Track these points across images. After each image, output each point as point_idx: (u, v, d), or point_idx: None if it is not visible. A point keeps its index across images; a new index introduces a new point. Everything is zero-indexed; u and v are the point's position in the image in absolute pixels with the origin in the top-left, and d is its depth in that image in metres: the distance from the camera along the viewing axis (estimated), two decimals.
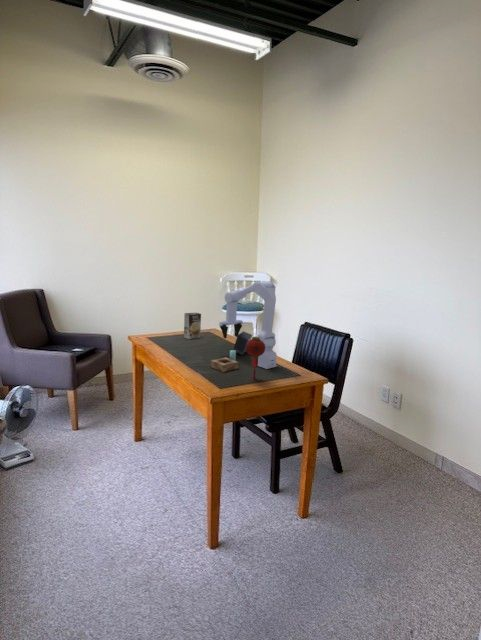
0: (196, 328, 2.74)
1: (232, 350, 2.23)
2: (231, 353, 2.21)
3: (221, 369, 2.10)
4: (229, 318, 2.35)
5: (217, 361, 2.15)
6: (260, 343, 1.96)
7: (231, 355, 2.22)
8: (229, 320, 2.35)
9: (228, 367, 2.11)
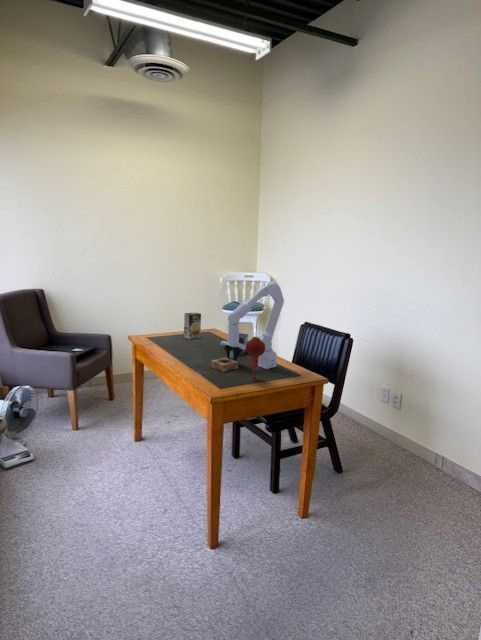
0: (196, 328, 2.74)
1: (232, 350, 2.23)
2: (231, 353, 2.21)
3: (221, 369, 2.10)
4: None
5: (217, 361, 2.15)
6: (260, 343, 1.96)
7: (231, 355, 2.22)
8: (227, 341, 2.21)
9: (228, 367, 2.11)
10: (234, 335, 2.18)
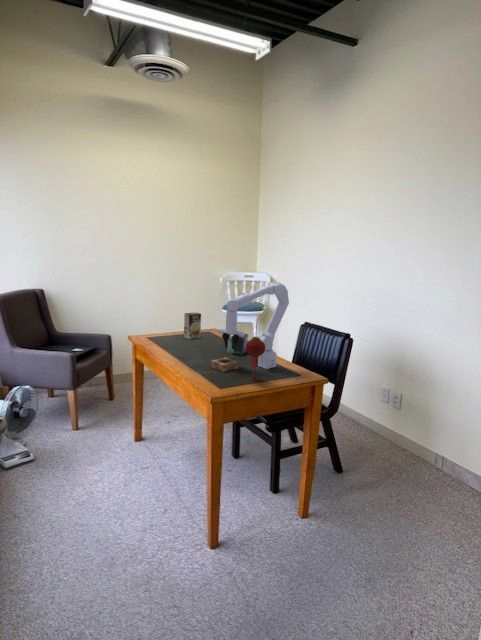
0: (196, 328, 2.74)
1: (230, 338, 2.20)
2: (229, 341, 2.18)
3: (221, 369, 2.10)
4: None
5: (217, 361, 2.15)
6: (260, 343, 1.96)
7: (229, 343, 2.18)
8: (225, 329, 2.17)
9: (228, 367, 2.11)
10: (233, 322, 2.15)
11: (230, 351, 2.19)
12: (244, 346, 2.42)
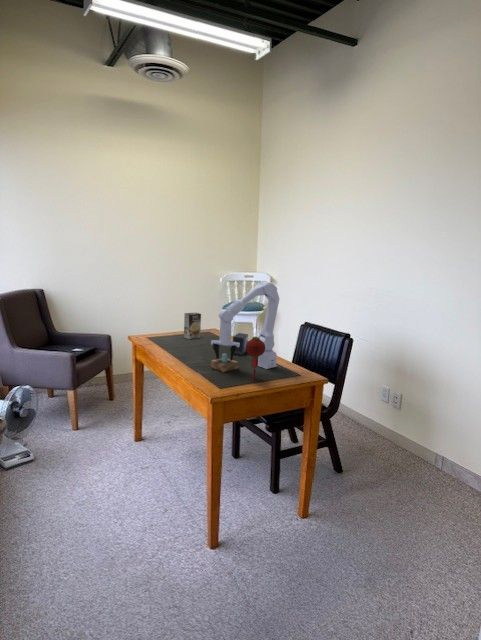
0: (196, 328, 2.74)
1: (223, 354, 2.16)
2: (224, 357, 2.14)
3: (221, 369, 2.10)
4: (220, 338, 2.12)
5: (217, 361, 2.15)
6: (260, 343, 1.96)
7: (224, 359, 2.14)
8: (220, 340, 2.12)
9: (228, 367, 2.11)
10: (228, 333, 2.11)
11: None
12: (244, 346, 2.42)
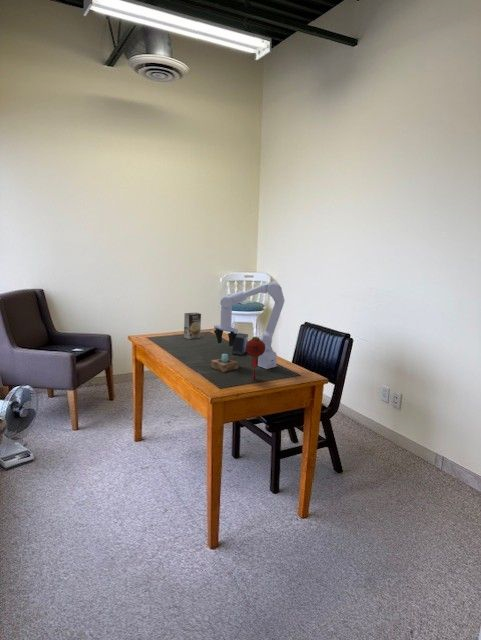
0: (196, 328, 2.74)
1: (223, 354, 2.16)
2: (224, 357, 2.14)
3: (221, 369, 2.10)
4: None
5: (217, 361, 2.15)
6: (260, 343, 1.96)
7: (224, 359, 2.14)
8: None
9: (228, 367, 2.11)
10: (226, 319, 2.18)
11: None
12: (244, 346, 2.42)
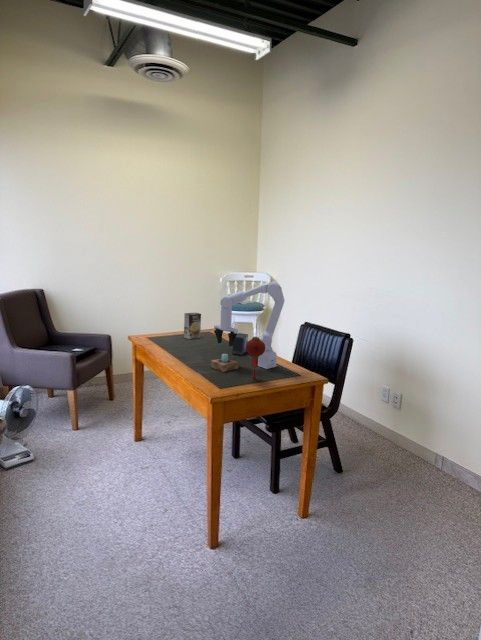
0: (196, 328, 2.74)
1: (223, 354, 2.16)
2: (224, 357, 2.14)
3: (221, 369, 2.10)
4: None
5: (217, 361, 2.15)
6: (260, 343, 1.96)
7: (224, 359, 2.14)
8: None
9: (228, 367, 2.11)
10: (226, 319, 2.18)
11: None
12: (244, 346, 2.42)
